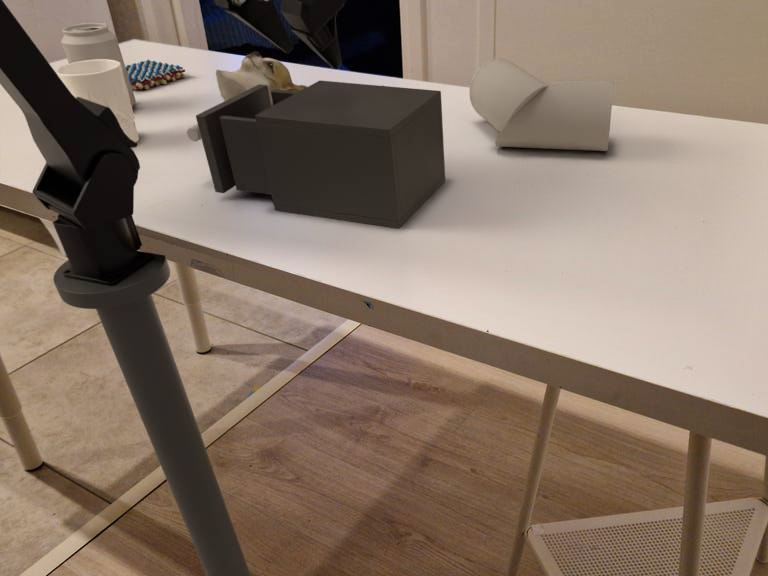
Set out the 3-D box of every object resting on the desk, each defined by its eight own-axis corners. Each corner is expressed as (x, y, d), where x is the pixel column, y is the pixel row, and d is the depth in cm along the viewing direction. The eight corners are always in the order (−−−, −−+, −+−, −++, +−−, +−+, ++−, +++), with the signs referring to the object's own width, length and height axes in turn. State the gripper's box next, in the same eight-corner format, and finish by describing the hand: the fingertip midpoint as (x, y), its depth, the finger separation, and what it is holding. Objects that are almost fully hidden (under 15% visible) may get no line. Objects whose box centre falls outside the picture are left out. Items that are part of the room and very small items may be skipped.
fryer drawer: (184, 187, 84) (163, 112, 79) (245, 151, 93) (229, 81, 88) (324, 207, 79) (311, 128, 74) (373, 167, 88) (365, 93, 83)
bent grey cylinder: (450, 149, 91) (607, 156, 89) (450, 59, 87) (615, 63, 84) (474, 134, 107) (607, 140, 104) (475, 57, 102) (615, 61, 100)
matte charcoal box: (274, 210, 81) (254, 115, 74) (332, 167, 91) (319, 80, 84) (399, 228, 77) (389, 129, 70) (445, 181, 87) (441, 90, 80)
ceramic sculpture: (192, 52, 103) (277, 39, 112) (204, 114, 108) (284, 96, 118) (236, 64, 98) (321, 49, 107) (246, 129, 103) (327, 109, 112)
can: (147, 106, 112) (122, 23, 105) (107, 120, 107) (77, 33, 100) (116, 100, 116) (90, 18, 108) (76, 113, 110) (45, 28, 103)
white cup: (132, 129, 104) (109, 55, 98) (151, 143, 99) (128, 67, 93) (76, 141, 100) (48, 66, 94) (93, 157, 95) (65, 78, 89)
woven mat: (190, 77, 125) (187, 65, 124) (139, 93, 118) (135, 80, 117) (151, 69, 130) (148, 57, 129) (100, 84, 123) (96, 72, 122)
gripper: (348, -122, 66) (412, 27, 79) (238, -134, 76) (311, 1, 89) (267, -48, 64) (346, 94, 77) (165, -70, 74) (250, 59, 87)
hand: (313, 58), depth 82 cm, fingers open, 9 cm apart
